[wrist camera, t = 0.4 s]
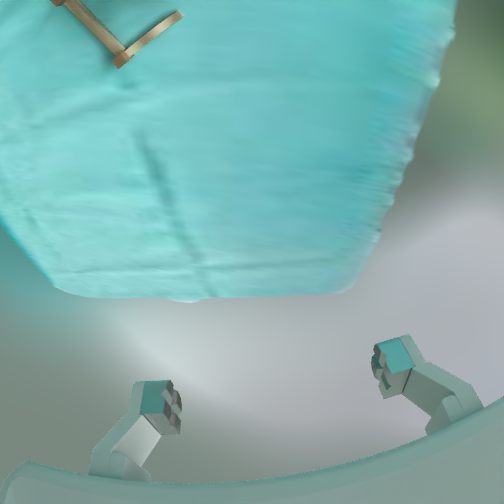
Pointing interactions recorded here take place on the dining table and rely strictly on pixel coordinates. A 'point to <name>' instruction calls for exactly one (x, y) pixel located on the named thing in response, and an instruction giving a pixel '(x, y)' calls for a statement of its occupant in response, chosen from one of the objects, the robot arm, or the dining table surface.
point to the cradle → (107, 37)
